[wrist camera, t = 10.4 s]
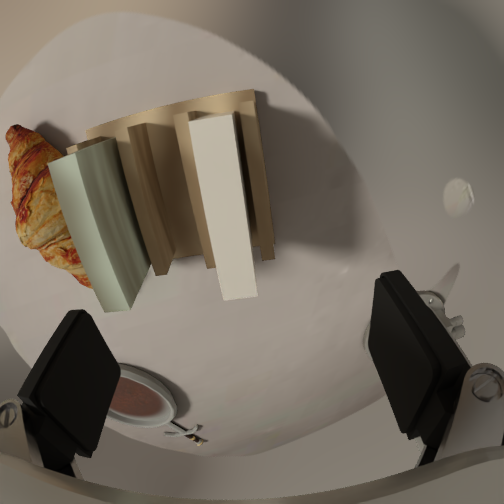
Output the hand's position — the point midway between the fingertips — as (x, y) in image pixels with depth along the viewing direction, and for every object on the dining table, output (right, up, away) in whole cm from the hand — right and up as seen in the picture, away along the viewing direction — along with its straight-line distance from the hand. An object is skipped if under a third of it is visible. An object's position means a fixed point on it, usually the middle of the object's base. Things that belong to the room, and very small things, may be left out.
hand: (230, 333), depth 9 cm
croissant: (-18, +7, +17) cm, 26 cm away
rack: (-6, +9, +17) cm, 20 cm away
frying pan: (-16, -24, +34) cm, 45 cm away
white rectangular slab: (-1, +9, +16) cm, 18 cm away
